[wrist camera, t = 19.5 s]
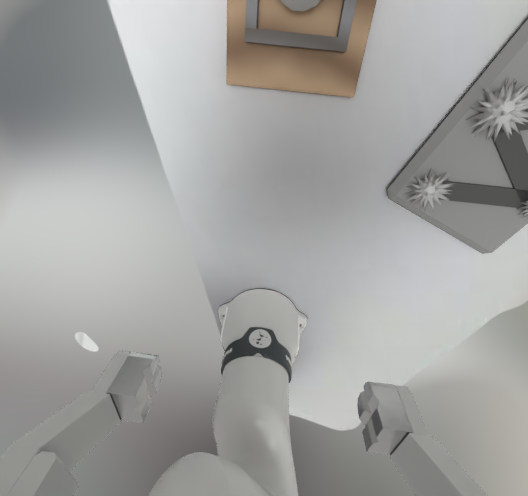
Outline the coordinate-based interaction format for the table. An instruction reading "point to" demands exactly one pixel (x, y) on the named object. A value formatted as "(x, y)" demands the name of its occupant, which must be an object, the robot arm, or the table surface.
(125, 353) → the robot arm
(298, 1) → the salt shaker
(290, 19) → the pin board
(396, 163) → the table surface
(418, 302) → the table surface
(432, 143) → the decorative plate
